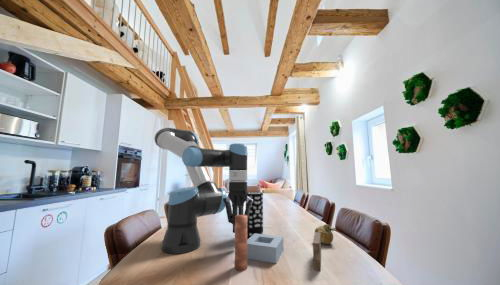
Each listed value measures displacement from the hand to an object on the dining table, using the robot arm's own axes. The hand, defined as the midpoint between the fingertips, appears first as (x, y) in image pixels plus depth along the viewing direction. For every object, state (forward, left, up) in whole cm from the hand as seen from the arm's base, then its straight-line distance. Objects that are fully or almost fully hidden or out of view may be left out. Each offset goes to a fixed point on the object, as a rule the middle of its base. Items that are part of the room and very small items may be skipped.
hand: (237, 241), depth 79 cm
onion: (+32, +20, -3) cm, 38 cm away
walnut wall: (+30, 0, -3) cm, 30 cm away
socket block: (+11, 0, -3) cm, 11 cm away
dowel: (+7, -13, -3) cm, 15 cm away
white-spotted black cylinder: (+1, +17, -3) cm, 17 cm away
